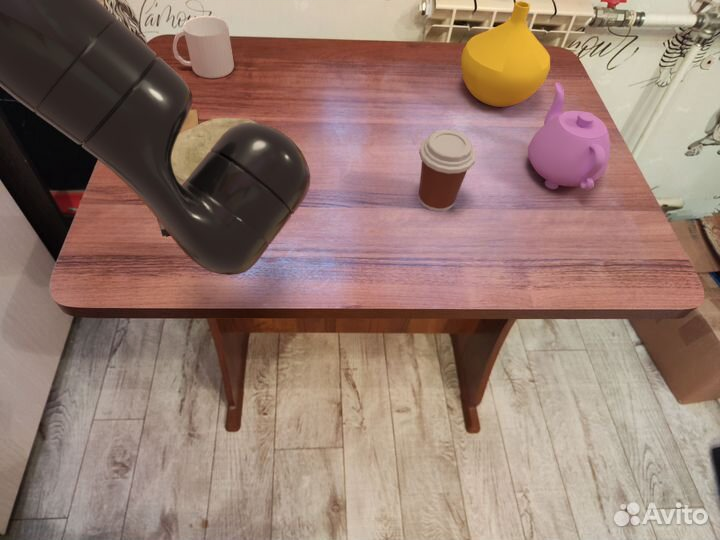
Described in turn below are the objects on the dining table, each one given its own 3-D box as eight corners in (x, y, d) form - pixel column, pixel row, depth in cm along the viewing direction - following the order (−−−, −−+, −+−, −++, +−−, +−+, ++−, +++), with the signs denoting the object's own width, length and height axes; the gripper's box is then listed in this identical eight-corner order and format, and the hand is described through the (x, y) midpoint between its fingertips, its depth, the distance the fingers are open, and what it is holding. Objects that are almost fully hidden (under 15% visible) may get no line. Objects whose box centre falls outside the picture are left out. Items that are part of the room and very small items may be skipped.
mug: (236, 58, 111) (230, 16, 104) (231, 79, 106) (224, 37, 98) (183, 56, 110) (173, 14, 103) (175, 77, 105) (163, 34, 98)
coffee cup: (468, 191, 88) (486, 136, 78) (452, 223, 82) (468, 168, 73) (422, 175, 90) (433, 119, 80) (402, 205, 85) (412, 149, 75)
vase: (443, 74, 112) (462, -15, 97) (517, 70, 115) (546, -17, 100) (469, 121, 101) (495, 29, 86) (550, 115, 104) (588, 25, 89)
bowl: (277, 198, 90) (282, 204, 76) (175, 198, 86) (160, 205, 72) (275, 120, 87) (280, 111, 73) (169, 117, 83) (152, 107, 69)
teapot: (503, 139, 98) (523, 82, 88) (567, 134, 100) (593, 78, 91) (545, 209, 86) (574, 152, 76) (616, 201, 88) (653, 145, 79)
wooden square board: (145, 150, 90) (143, 145, 89) (145, 118, 95) (143, 114, 95) (201, 144, 92) (200, 139, 91) (197, 113, 97) (196, 109, 97)
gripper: (282, 156, 51) (261, 173, 66) (139, 188, 46) (152, 198, 62) (301, 225, 52) (276, 226, 67) (164, 263, 48) (170, 254, 63)
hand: (217, 213), depth 64 cm, fingers open, 8 cm apart
